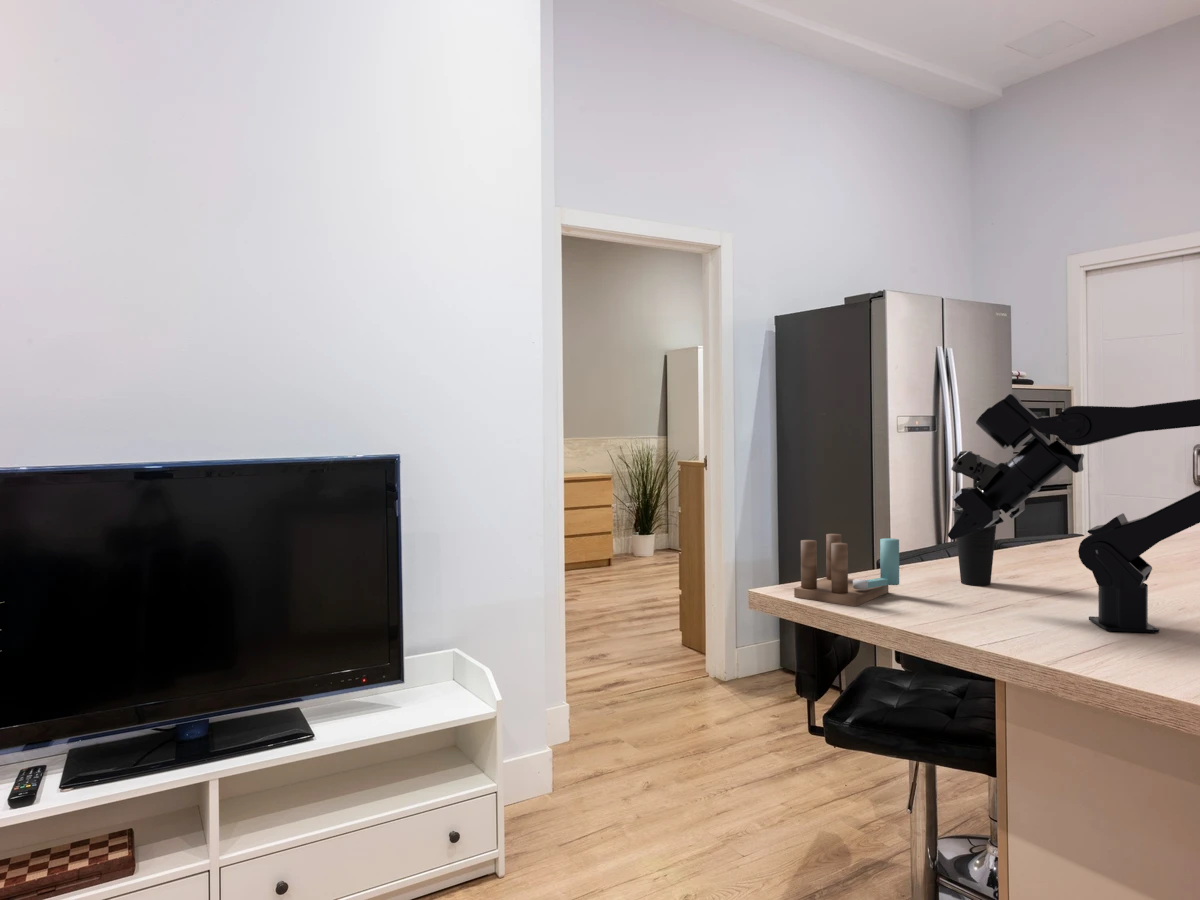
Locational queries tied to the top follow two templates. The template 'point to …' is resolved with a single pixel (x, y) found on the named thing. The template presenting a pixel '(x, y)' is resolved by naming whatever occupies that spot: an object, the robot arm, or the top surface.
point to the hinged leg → (884, 566)
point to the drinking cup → (975, 553)
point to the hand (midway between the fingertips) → (950, 537)
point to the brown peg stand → (831, 575)
